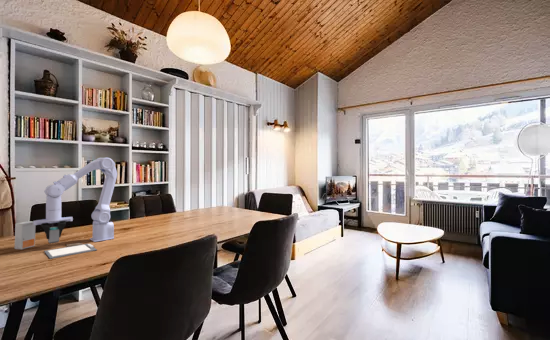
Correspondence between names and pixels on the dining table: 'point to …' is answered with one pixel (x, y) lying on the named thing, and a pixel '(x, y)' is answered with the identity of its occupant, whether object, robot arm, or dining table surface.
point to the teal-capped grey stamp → (53, 235)
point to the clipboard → (69, 250)
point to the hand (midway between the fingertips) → (53, 238)
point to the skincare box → (24, 235)
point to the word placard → (73, 244)
